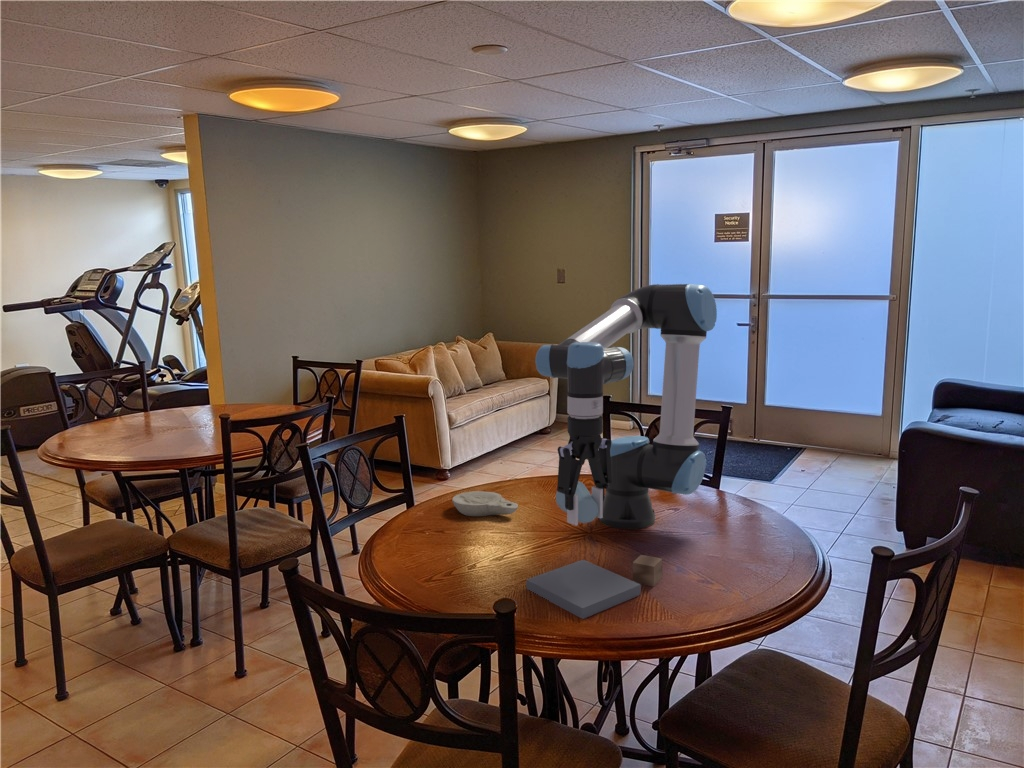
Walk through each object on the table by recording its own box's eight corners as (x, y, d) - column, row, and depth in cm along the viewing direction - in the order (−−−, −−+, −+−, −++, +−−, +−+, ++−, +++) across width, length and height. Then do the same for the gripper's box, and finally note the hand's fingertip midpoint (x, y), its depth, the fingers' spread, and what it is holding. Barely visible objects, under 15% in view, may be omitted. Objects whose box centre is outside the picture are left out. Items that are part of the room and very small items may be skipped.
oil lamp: (531, 513, 212) (531, 497, 211) (503, 529, 200) (503, 511, 199) (472, 502, 223) (471, 486, 222) (443, 516, 211) (442, 499, 211)
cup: (563, 523, 158) (550, 507, 168) (595, 532, 160) (580, 515, 170) (576, 490, 157) (562, 476, 167) (607, 499, 159) (592, 485, 169)
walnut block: (632, 583, 165) (632, 562, 164) (641, 575, 169) (641, 554, 168) (653, 588, 162) (653, 566, 161) (662, 579, 166) (662, 558, 165)
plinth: (526, 590, 162) (526, 579, 162) (583, 569, 172) (583, 559, 172) (582, 620, 148) (582, 608, 148) (640, 595, 158) (640, 584, 158)
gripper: (562, 424, 148) (562, 534, 151) (630, 412, 159) (629, 515, 163) (538, 418, 154) (539, 525, 157) (605, 407, 165) (605, 507, 169)
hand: (584, 519), depth 160 cm, fingers closed on cup, 6 cm apart
